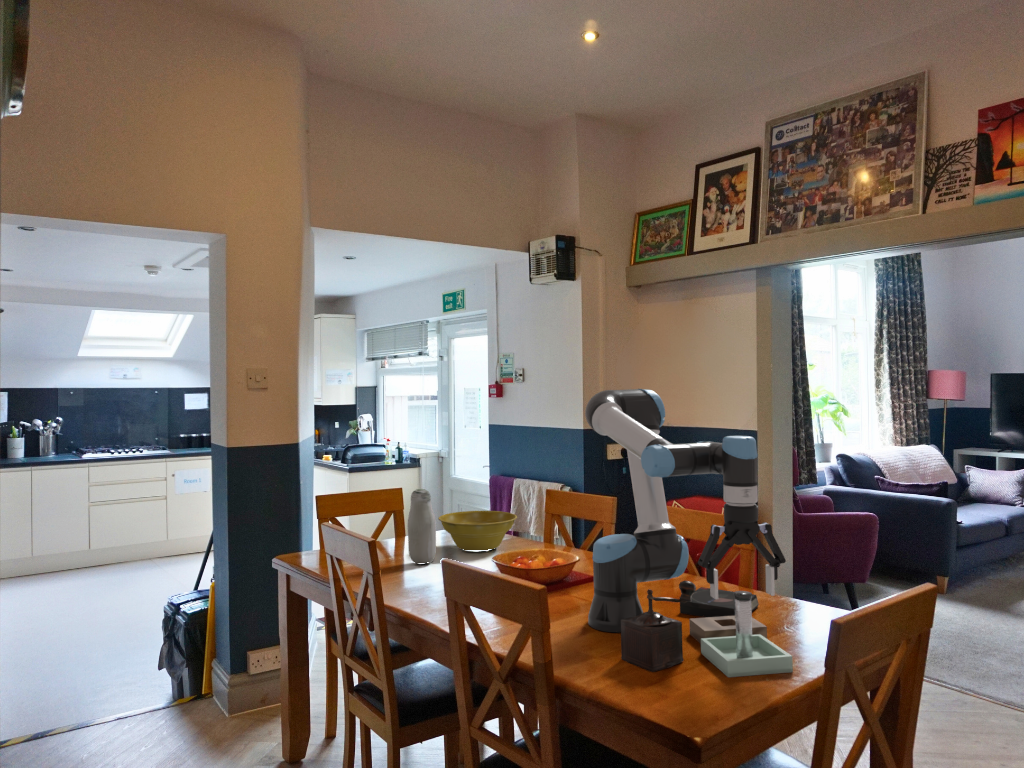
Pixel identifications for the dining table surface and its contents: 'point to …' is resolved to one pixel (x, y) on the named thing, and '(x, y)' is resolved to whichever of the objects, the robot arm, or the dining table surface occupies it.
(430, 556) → the grey bottle
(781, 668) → the tray
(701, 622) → the block
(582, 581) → the dining table surface
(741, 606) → the clear capped cylinder
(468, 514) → the planter bowl
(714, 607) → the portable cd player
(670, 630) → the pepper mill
